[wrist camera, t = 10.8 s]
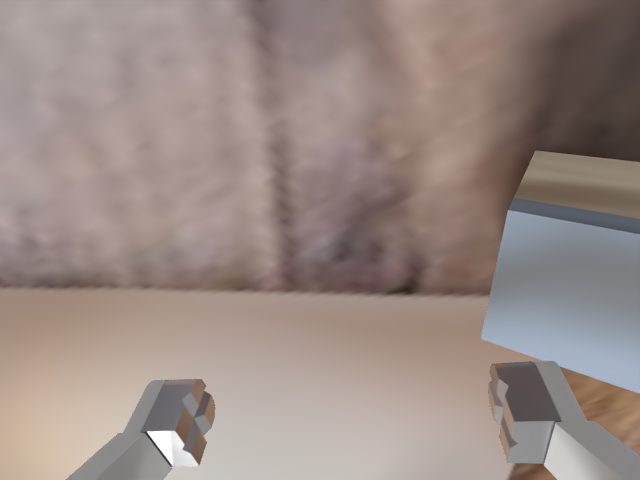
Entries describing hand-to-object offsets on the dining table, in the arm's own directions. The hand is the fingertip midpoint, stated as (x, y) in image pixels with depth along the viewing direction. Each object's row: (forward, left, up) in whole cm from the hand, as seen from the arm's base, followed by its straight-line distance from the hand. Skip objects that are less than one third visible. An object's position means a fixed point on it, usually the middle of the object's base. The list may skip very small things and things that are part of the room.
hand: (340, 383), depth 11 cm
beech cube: (+1, +8, -3) cm, 9 cm away
